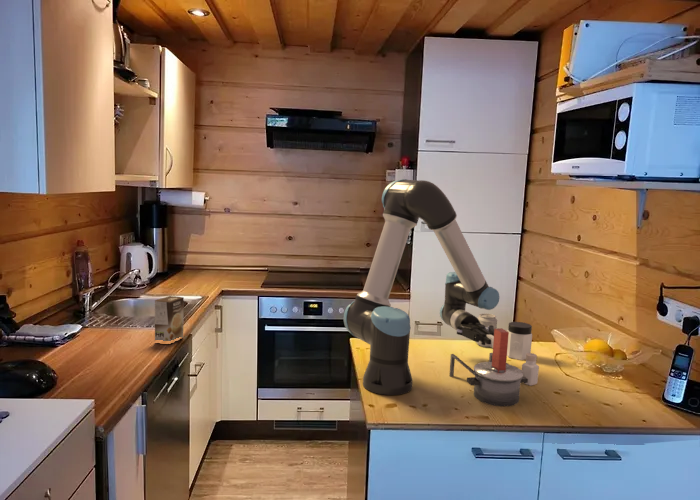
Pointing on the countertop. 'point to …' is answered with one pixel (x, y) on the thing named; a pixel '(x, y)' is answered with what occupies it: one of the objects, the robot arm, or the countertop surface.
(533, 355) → the salt shaker
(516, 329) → the jar
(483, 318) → the can
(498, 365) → the lid
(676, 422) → the countertop surface
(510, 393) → the cooker
